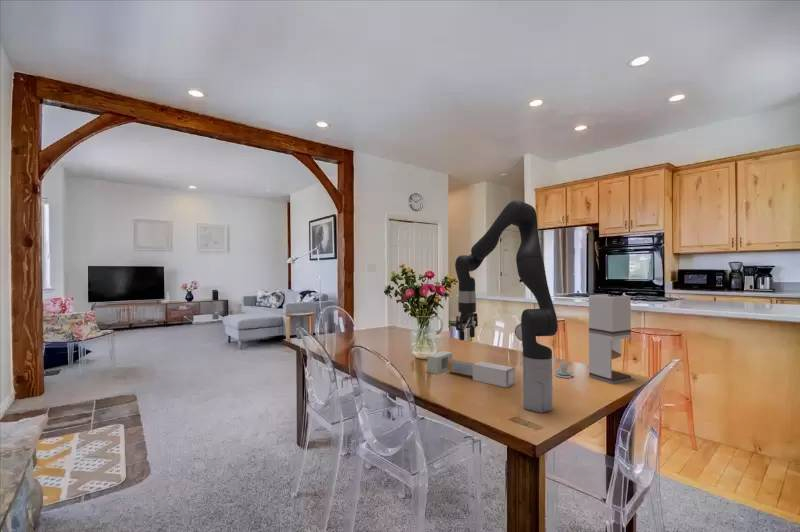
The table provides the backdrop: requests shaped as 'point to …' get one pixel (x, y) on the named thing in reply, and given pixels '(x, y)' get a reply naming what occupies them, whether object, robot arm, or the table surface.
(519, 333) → the magnifying glass
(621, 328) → the grey notched tower
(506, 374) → the grey sleeve
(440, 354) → the socket block
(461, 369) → the steel tube
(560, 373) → the pacifier
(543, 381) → the robot arm
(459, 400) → the table surface
